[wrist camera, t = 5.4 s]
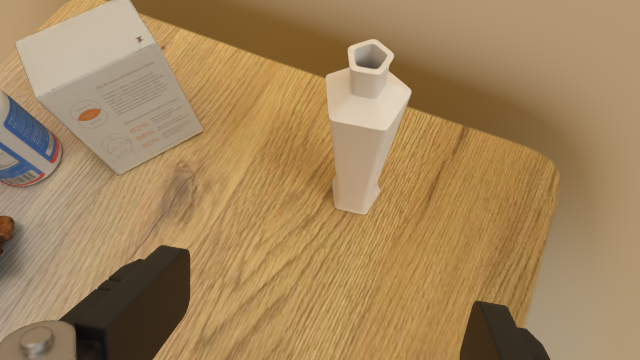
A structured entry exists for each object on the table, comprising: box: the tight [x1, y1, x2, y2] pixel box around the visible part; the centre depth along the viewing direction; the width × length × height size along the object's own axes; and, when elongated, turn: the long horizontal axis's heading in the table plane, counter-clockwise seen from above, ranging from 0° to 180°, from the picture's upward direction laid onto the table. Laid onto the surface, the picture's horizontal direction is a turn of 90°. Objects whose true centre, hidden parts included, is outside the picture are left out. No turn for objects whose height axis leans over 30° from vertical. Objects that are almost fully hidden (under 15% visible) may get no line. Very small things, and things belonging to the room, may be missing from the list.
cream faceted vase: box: [326, 39, 411, 215], centre depth 25 cm, size 5×4×15 cm
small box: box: [15, 0, 203, 175], centre depth 31 cm, size 8×6×10 cm
